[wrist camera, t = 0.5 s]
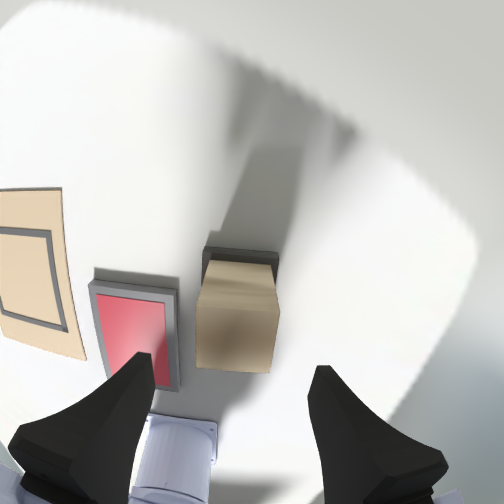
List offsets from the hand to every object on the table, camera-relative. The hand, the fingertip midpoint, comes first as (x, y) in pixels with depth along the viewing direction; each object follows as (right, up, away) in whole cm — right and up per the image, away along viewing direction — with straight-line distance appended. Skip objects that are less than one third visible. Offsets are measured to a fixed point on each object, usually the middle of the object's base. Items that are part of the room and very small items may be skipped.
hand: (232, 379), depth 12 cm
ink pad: (-9, -2, +11) cm, 14 cm away
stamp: (0, +3, +9) cm, 10 cm away
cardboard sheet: (-20, +3, +9) cm, 22 cm away
